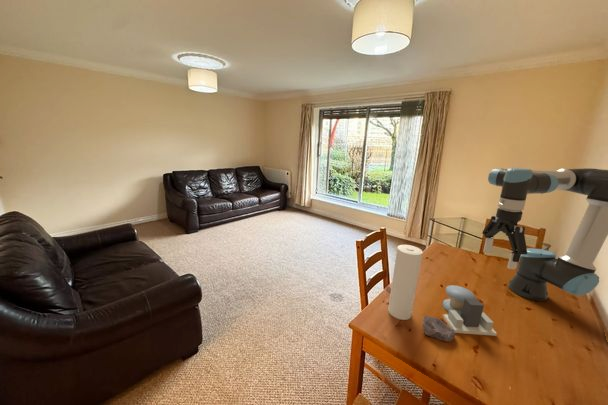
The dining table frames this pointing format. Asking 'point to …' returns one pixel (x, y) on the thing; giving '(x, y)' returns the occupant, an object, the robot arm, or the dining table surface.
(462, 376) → the dining table surface
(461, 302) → the spool
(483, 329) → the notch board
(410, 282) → the cylinder container
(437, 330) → the rock
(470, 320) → the gray rectangular block
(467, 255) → the dining table surface
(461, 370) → the dining table surface
